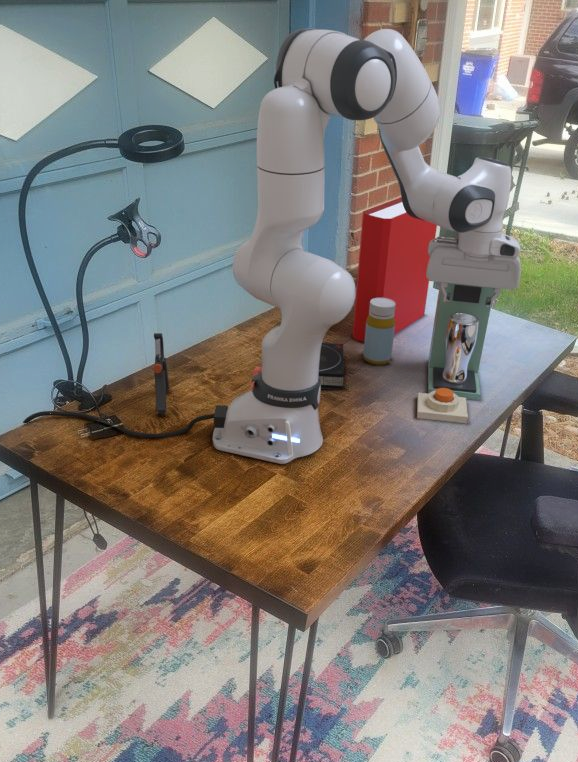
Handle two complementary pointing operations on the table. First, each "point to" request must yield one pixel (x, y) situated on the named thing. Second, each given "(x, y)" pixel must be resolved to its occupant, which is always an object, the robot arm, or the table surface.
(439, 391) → the button
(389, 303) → the bottle
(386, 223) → the book
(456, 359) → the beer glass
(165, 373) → the hand grip strengthener
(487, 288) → the mint green tower
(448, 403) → the control pad
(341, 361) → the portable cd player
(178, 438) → the table surface
